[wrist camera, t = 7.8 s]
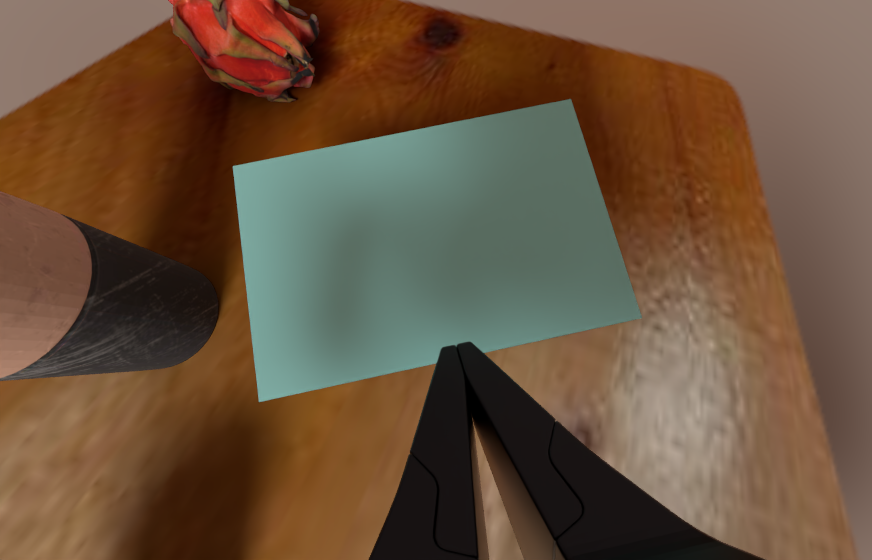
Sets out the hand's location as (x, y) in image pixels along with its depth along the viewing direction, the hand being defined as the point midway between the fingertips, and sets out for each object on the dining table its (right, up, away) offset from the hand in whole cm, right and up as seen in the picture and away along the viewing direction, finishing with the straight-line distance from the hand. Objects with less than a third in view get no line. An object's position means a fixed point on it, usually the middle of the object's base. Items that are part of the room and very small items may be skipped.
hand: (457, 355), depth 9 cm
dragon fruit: (-14, +19, +18) cm, 30 cm away
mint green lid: (-1, +4, +6) cm, 7 cm away
